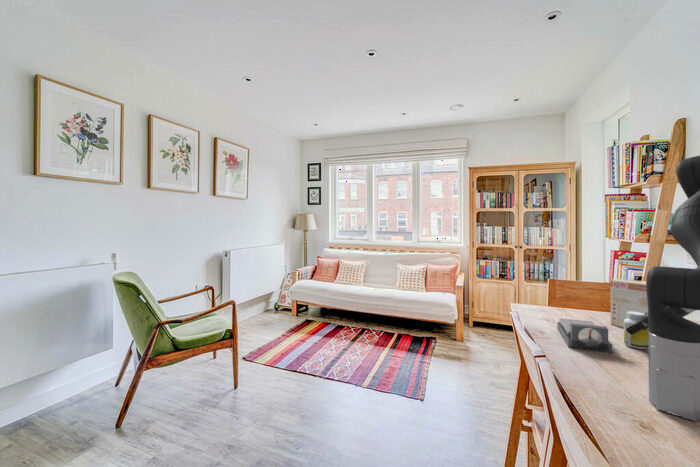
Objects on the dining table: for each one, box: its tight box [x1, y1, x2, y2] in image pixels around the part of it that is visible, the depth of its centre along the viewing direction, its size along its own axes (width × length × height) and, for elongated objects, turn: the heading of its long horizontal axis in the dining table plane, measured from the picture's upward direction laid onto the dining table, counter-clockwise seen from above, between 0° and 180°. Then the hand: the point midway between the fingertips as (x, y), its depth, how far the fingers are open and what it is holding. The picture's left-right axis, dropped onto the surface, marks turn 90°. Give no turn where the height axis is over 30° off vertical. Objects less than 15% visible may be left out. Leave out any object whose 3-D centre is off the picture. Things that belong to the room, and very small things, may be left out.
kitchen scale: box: [556, 321, 613, 354], centre depth 110 cm, size 21×12×8 cm, turn 154°
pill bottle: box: [623, 311, 649, 350], centre depth 104 cm, size 6×6×12 cm
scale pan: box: [558, 317, 597, 335], centre depth 112 cm, size 16×11×1 cm, turn 154°
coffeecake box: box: [609, 277, 648, 329], centre depth 120 cm, size 15×7×20 cm, turn 22°
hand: (630, 329), depth 105 cm, fingers closed on pill bottle, 6 cm apart
